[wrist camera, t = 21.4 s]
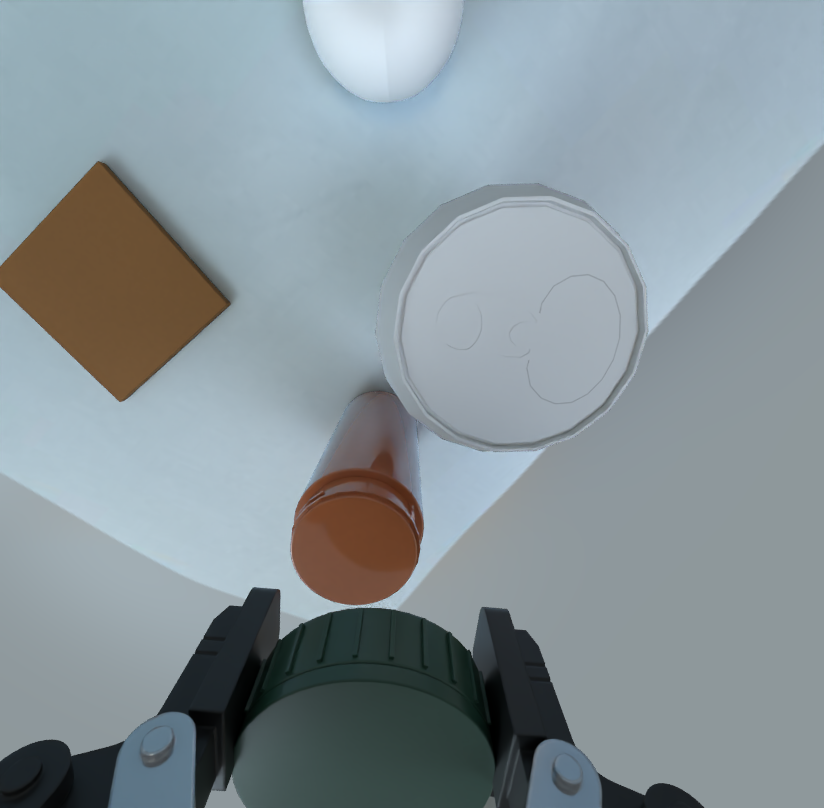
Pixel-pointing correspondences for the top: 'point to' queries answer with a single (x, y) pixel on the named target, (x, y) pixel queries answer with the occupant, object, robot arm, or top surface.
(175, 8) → the top surface
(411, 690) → the lid
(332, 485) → the jar
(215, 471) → the top surface
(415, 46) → the plain white apple
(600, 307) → the supplement can
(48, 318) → the coaster
